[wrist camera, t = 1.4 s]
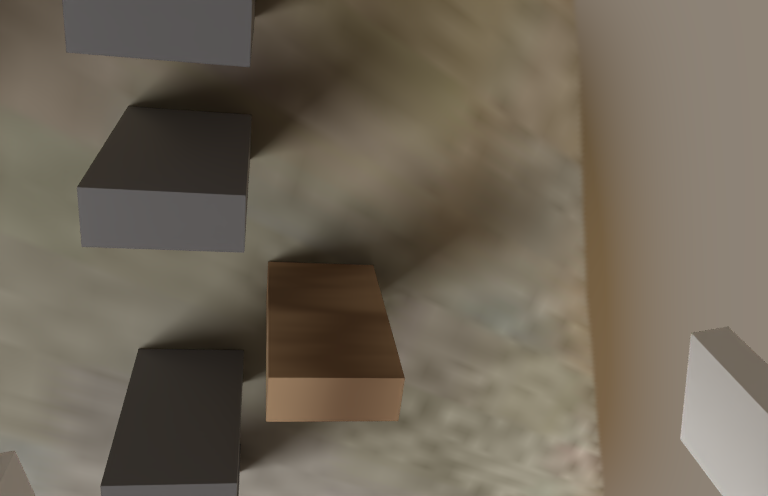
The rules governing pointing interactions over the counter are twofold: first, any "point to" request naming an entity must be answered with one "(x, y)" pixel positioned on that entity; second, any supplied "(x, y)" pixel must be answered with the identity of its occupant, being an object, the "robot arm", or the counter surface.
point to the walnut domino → (329, 345)
